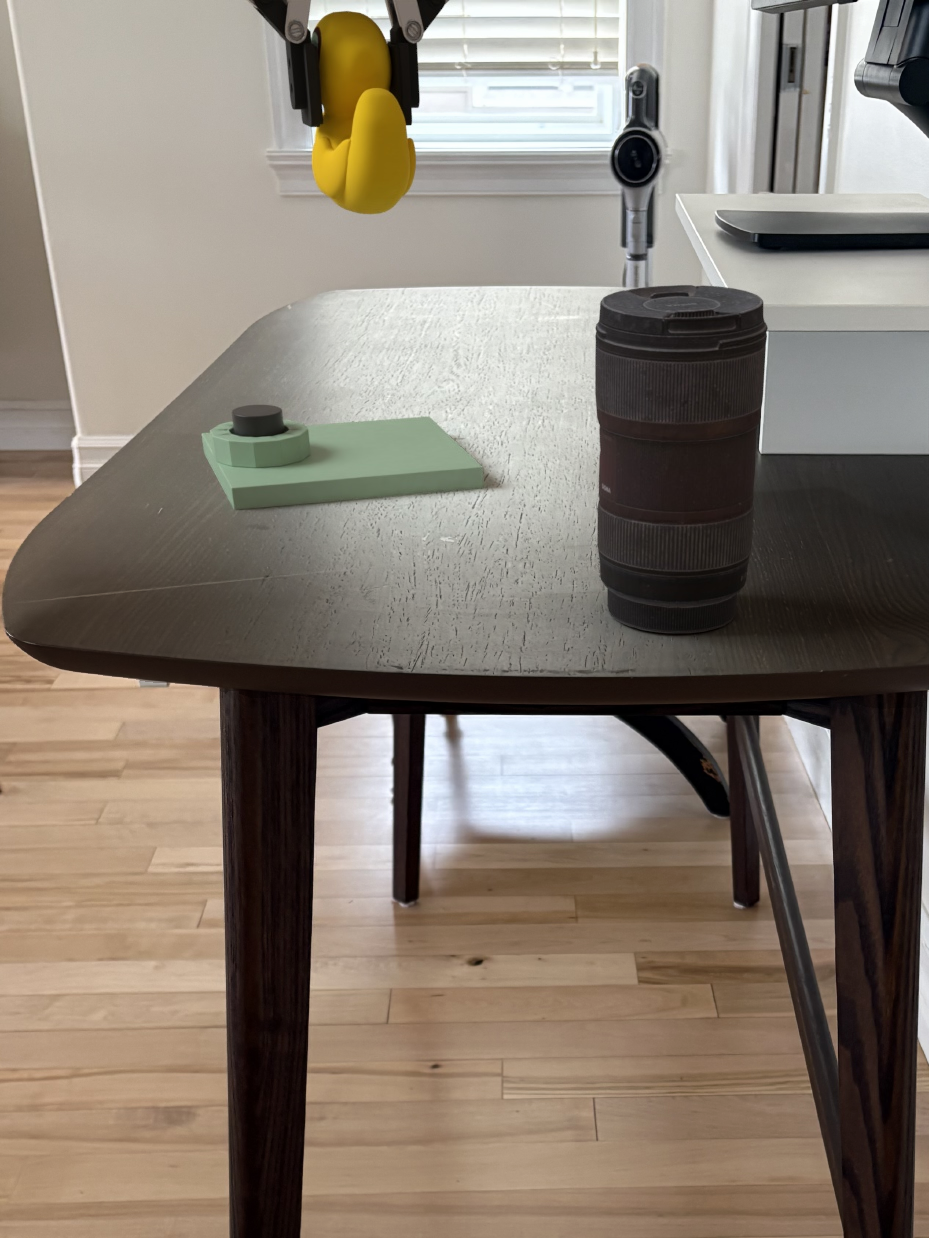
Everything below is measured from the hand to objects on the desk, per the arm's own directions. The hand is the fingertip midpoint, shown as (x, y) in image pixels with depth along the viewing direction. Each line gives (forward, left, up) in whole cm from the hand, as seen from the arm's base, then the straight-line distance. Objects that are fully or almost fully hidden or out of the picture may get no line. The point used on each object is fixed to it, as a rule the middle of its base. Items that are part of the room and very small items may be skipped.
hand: (356, 120), depth 88 cm
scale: (-2, +2, -20) cm, 20 cm away
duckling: (0, 0, -5) cm, 5 cm away
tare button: (-7, +2, -17) cm, 19 cm away
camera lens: (+9, -30, -20) cm, 37 cm away
